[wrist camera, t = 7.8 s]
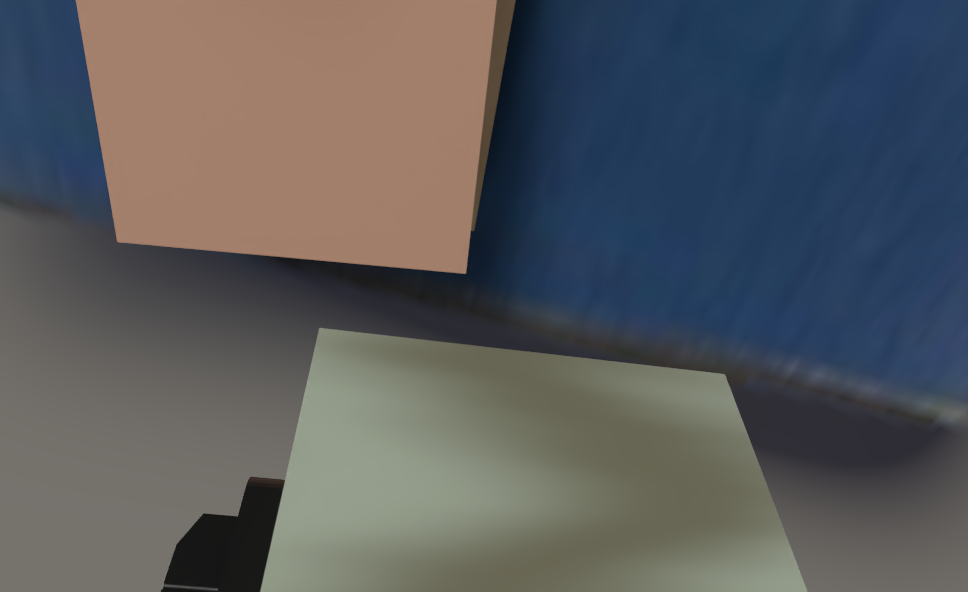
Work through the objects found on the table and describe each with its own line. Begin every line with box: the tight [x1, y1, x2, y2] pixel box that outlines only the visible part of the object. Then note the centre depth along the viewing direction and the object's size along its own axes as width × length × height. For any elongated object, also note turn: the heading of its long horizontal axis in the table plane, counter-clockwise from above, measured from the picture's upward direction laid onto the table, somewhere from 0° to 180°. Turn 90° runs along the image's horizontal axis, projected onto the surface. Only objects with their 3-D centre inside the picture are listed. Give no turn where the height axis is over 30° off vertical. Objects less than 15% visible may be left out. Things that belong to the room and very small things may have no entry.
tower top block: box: [76, 0, 497, 274], centre depth 23 cm, size 10×10×4 cm
